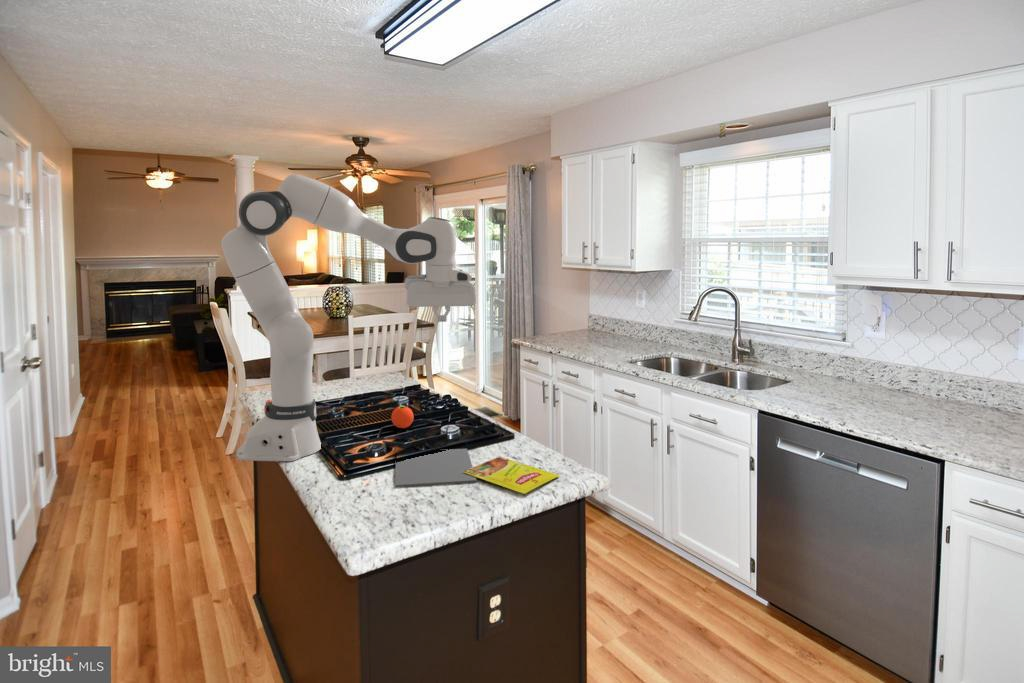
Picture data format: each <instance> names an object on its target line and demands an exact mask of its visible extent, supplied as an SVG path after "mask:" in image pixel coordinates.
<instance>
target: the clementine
mask: <svg viewBox="0 0 1024 683" xmlns="http://www.w3.org/2000/svg"><path fill="white" fill-rule="evenodd" d="M390 419H391V422H392V424H393V426H395V427H396V428H399V429H406V428H409V427H410V426H411V424H412V423H413V422H414V419H415V418H414V413H413V410H412V409H411V408H409V407H408V406H405V405H399V406H398V407H396V408H395V409H394V410H393V411H392V413H391V418H390Z"/></svg>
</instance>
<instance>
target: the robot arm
mask: <svg viewBox="0 0 1024 683" xmlns="http://www.w3.org/2000/svg"><path fill="white" fill-rule="evenodd" d="M238 218H239V221H240V222H239V225H238V226H237V227H235V228H233V229H231V230H229V231H228V232H227V233H226V234H224V236H223V237H222V239H221V242H220V243H221V250H222V252H223V256H224V258H225V261H226V264H227V266H228V268H229V270H230V272H231V274H232V276H233V278H234V279H235V280H234V281H235V283H236V284H237V285H238V286H239V288H240V290H241V292H242V294H243V296H244V298H245V300H246V303H247V304H248V306H249V307H250V310H251V311H252V313H253V315H254V316H255V318H256V321H257V322H258V323H259V326H260V327H261V329H262V331H263V333H264V335H265V337H266V339H267V340H268V342H269V347H270V349H269V350H270V354H269V355H270V374H269V381H270V391H271V392H270V394H271V395H270V396H271V399H267V400H266V402H265V403H264V404H265V405H264V411H263V412H264V416H263V417H262V418H260V420H258V421H257V422H255V424H253V425H252V426H251V427H250V428H249V429H248V430H247V432H246V434H245V438H244V443H243V444H241V445H240V446H239V447H238V448H237V450H236V452H235V453H236V459H237V460H238V461H246V462H250V461H252V462H253V461H255V462H293V461H296V460H299V459H301V458H303V457H307V456H311V455H312V454H315V453H317V452H319V451H320V450H321V449H322V448H321V444H322V442H321V439H320V436H319V432H318V428H317V422H316V419H317V403H316V400H315V398H314V385H313V383H314V382H313V367H314V366H313V365H314V364H313V363H314V331H313V328H312V326H311V325H310V323H308V322H307V321H306V320H305V319H304V317H303V315H302V314H301V312H300V310H299V307H298V305H297V303H296V301H295V299H294V296H293V295H292V292H291V290H290V287H289V286H288V283H287V281H286V279H285V278H284V275H283V273H282V272H281V270H280V268H279V266H278V264H277V262H276V260H275V258H274V257H273V255H272V252H271V251H270V248H269V246H268V245H269V244H268V242H267V241H268V236H270V235H274V233H276V232H278V231H279V230H280V229H281V228H283V226H284V225H285V223H286V222H288V221H289V219H290V218H298V219H301V220H303V221H305V222H308V223H310V224H312V225H315V226H317V227H320V228H321V229H325V230H327V231H332V232H334V233H340V234H343V233H344V234H352V235H355V236H358V237H360V238H363V239H364V240H367V241H369V242H371V243H373V244H376V245H377V246H379V247H381V248H383V250H385V251H386V253H387V254H388V255H389V256H390V257H391V258H393V259H394V261H397V262H400V263H405V264H411V265H414V264H419V263H422V262H425V274H410V275H408V276H406V277H405V279H404V287H405V290H406V301H405V302H406V303H405V304H406V306H408V307H409V308H424V307H426V308H429V307H430V308H432V311H433V314H434V315H435V317H436V319H435V320H436V323H441V322H443V323H446V322H447V321H448V320H447V318H448V317H447V316H448V315H449V313H450V311H451V307H474V306H475V305H476V303H477V296H476V295H477V294H476V289H475V285H474V283H473V282H472V274H471V273H470V272H467V271H464V270H463V269H458V268H457V262H456V257H455V255H456V251H457V239H456V238H457V237H456V229H455V225H454V223H453V222H452V221H450V220H449V219H446V218H440V217H434V216H430V217H427V218H426V219H425V220H424V221H423V222H421V223H419V224H417V225H415V226H412V227H409V228H406V227H393V226H389V225H387V224H385V223H384V222H380V221H379V220H376V219H374V218H373V217H371V216H368V215H367V214H366V213H364V212H363V211H362V210H361V209H360V208H359V207H358V206H357V204H356V203H355V201H354V200H353V199H351V198H350V197H349V196H348V195H347V194H345V193H344V192H342V191H340V190H338V189H336V188H335V187H333V186H331V185H329V184H326V183H324V182H322V181H319V180H318V179H314V178H311V177H307V176H305V175H301V174H296V173H293V174H290V175H288V176H286V177H285V178H284V179H283V180H282V182H281V183H280V185H279V187H278V189H277V190H276V191H275V190H274V191H267V190H253V191H250V192H248V193H247V194H246V195H245V196H243V198H242V199H241V201H240V204H239V207H238ZM438 307H440V308H441V307H444V309H445V312H444V314H439V313H438V312H437V311H438Z"/></svg>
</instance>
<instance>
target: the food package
mask: <svg viewBox="0 0 1024 683" xmlns="http://www.w3.org/2000/svg"><path fill="white" fill-rule="evenodd" d="M472 467H473V466H472ZM463 473H466V474H469V475H472V476H474V477H476V479H481V480H484V481H486V482H488V483H491V484H494V485H498V486H501V487H503V488H506V489H509V490H511V491H515V492H517V493H520V494H527V493H529V492H530V491H533V490H535V489H536V488H539V487H540V486H542V485H544V484H546V483H549V482H550V481H552V480H553V479H556V478H558V477H560V476H561V475H560V474H557V473H553V472H550V471H547V470H543V469H540V468H537V467H535V466H531V465H528V464H525V463H522V462H519V461H515V460H512V459H509V458H506V457H503V456H498V457H495V458H492V459H490V460H488V461H485V462H483V463H481V464H478V465H476V466H474V467H473V468H471V469H468V470H466V471H464V472H463Z"/></svg>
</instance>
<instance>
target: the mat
mask: <svg viewBox="0 0 1024 683" xmlns="http://www.w3.org/2000/svg"><path fill="white" fill-rule="evenodd" d="M445 450H446V451H442V452H438V453H434V454H428V455H424V456H419V457H415V458H411V459H406V460H404V461H401V462H398V463H396V462H395V482H394V483H395V488H406V487H407V488H408V487H422V486H423V487H425V486H439V485H452V484H453V485H454V484H456V485H457V484H468V483H469V484H472V483H477V477H474V476H472V475H469V474H466V473H463V472H464V471H466V470H468V469H471V468H473V464H472V461H471V457H470V454H469V450H468V448H455V449H454V448H451V449H450V448H449V450H448V449H445Z"/></svg>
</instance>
